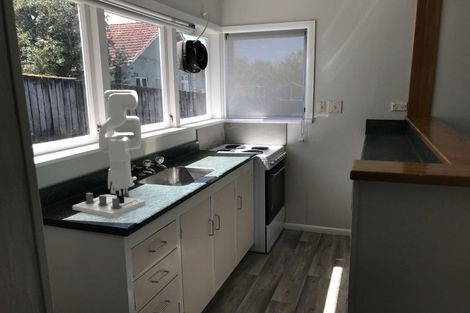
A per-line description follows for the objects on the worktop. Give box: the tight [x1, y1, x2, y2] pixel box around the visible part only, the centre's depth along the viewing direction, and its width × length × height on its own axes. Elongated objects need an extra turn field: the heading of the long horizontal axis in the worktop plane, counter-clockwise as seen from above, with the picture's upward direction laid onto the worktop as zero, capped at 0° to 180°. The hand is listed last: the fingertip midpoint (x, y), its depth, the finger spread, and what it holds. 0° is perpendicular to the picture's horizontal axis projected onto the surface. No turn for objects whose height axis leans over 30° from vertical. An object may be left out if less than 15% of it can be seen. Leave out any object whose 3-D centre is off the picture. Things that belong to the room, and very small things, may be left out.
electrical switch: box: [124, 188, 131, 198], centre depth 200 cm, size 9×5×9 cm, turn 32°
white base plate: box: [72, 194, 146, 218], centre depth 181 cm, size 22×26×2 cm
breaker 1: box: [84, 192, 95, 204], centre depth 181 cm, size 3×4×4 cm
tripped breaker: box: [111, 197, 122, 209], centre depth 172 cm, size 3×4×4 cm
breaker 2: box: [98, 194, 109, 206], centre depth 177 cm, size 3×4×4 cm
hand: (120, 202), depth 175 cm, fingers closed
